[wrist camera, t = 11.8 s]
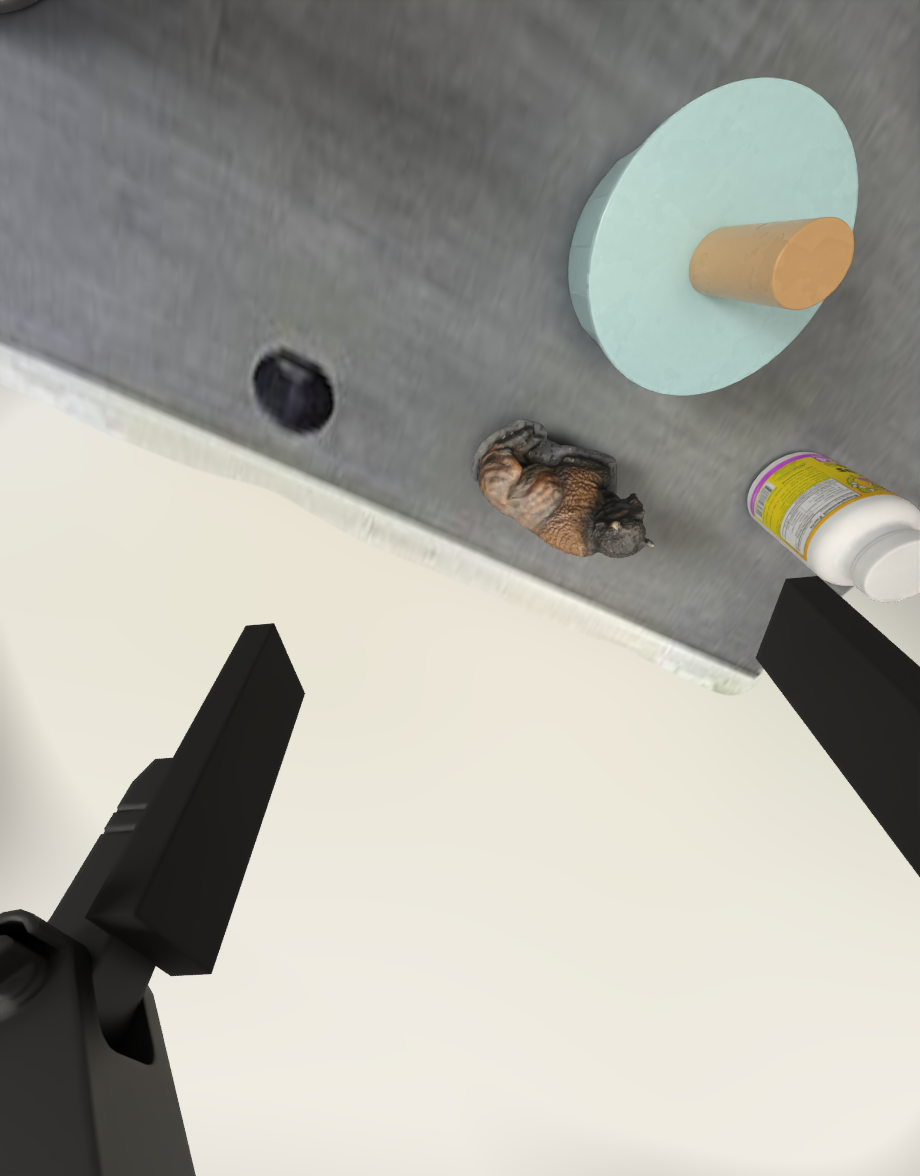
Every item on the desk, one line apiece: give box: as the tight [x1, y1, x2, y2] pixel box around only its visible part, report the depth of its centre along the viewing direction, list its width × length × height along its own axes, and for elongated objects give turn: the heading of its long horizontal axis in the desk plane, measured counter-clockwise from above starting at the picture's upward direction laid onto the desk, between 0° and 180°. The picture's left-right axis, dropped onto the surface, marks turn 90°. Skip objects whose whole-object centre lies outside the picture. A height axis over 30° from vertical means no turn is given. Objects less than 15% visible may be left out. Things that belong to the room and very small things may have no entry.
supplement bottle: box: [747, 452, 920, 602], centre depth 34 cm, size 7×7×13 cm
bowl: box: [568, 147, 640, 346], centre depth 26 cm, size 11×11×8 cm
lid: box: [587, 77, 858, 396], centre depth 20 cm, size 13×13×9 cm
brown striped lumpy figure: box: [472, 419, 654, 558], centre depth 33 cm, size 12×7×10 cm, turn 73°
